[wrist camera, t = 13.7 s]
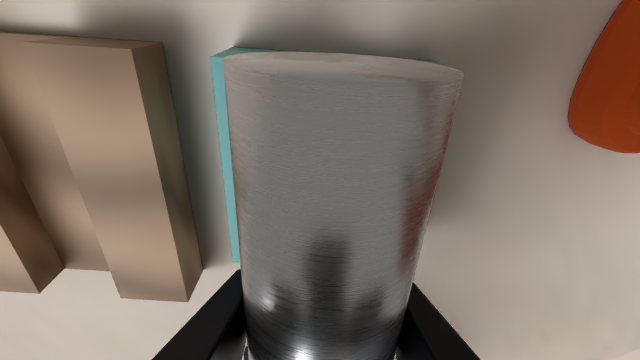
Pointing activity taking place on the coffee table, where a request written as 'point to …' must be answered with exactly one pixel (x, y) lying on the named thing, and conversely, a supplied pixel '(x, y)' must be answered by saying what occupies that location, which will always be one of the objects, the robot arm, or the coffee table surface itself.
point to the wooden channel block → (92, 167)
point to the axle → (333, 195)
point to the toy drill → (611, 86)
